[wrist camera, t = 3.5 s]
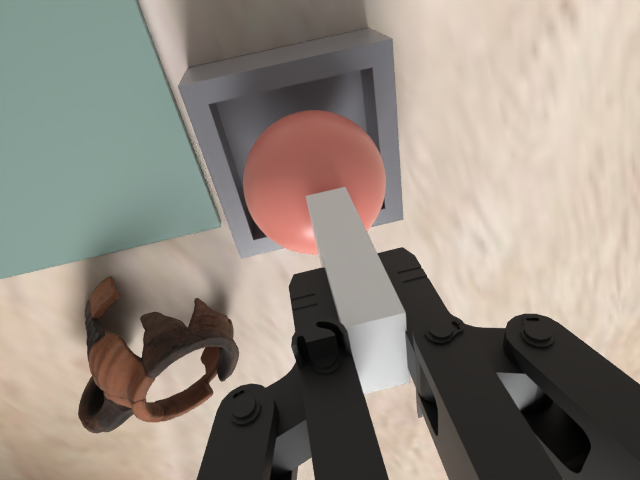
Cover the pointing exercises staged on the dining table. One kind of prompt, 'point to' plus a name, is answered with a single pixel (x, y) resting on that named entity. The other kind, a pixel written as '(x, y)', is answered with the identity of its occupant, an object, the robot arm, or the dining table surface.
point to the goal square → (89, 137)
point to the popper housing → (287, 98)
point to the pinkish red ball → (310, 174)
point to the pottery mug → (149, 363)
